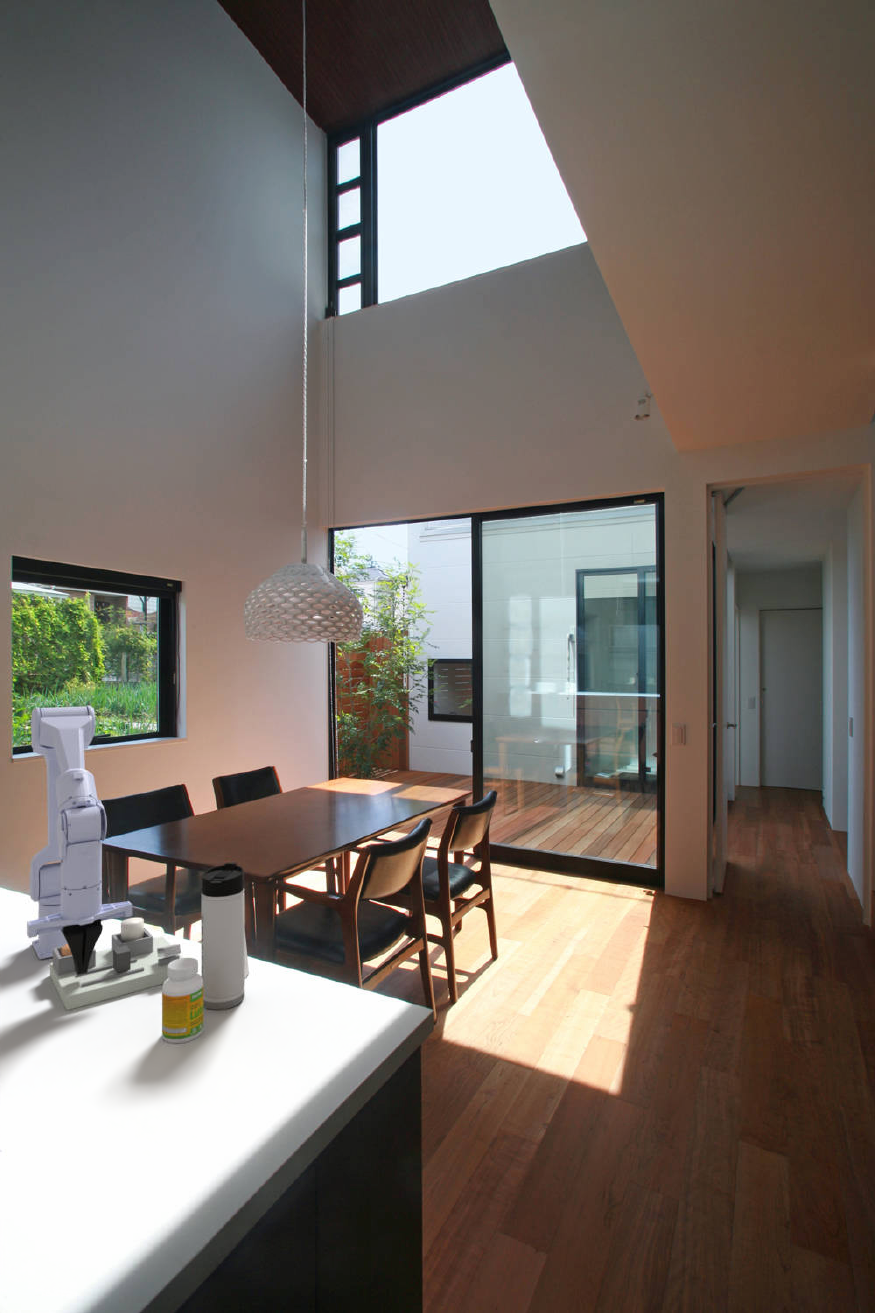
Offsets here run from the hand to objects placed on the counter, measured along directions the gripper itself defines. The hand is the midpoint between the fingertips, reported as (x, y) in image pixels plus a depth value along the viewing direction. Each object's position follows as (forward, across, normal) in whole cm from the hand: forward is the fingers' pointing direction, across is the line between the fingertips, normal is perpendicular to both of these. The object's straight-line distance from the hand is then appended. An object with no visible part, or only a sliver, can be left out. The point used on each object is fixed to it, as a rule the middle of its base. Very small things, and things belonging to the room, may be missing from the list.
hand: (81, 971), depth 106 cm
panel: (+3, +6, +3) cm, 8 cm away
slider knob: (+1, +6, 0) cm, 6 cm away
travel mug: (+4, +17, -16) cm, 23 cm away
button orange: (+1, 0, +7) cm, 7 cm away
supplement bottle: (+4, +9, -22) cm, 24 cm away
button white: (-1, +9, +7) cm, 12 cm away
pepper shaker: (+4, +21, -9) cm, 23 cm away
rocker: (-1, +13, -2) cm, 13 cm away
